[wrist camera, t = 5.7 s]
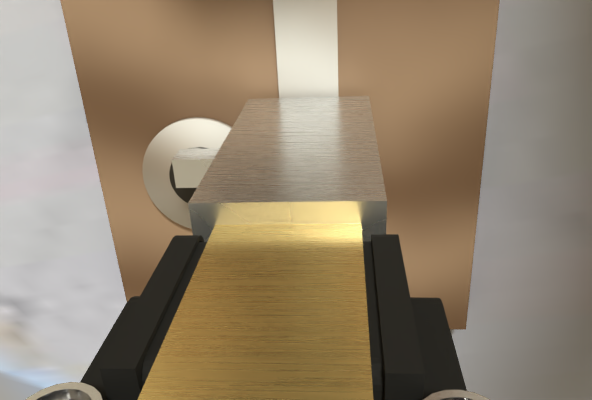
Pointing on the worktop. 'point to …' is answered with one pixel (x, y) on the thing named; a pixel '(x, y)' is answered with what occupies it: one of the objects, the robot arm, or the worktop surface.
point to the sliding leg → (278, 257)
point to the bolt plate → (291, 84)
